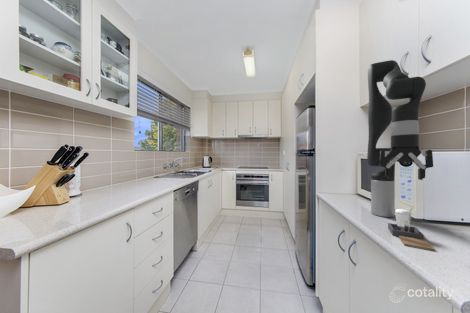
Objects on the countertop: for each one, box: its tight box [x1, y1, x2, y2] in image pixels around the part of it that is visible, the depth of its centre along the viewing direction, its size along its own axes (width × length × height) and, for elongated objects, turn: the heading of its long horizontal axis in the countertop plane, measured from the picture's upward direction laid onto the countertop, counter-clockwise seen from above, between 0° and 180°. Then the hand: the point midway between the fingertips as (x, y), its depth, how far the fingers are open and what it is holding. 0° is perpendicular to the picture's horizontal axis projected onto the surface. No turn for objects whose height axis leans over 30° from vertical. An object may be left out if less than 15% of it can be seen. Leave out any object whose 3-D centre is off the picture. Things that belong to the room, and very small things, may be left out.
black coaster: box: [387, 222, 425, 240], centre depth 68 cm, size 8×8×2 cm
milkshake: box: [395, 207, 414, 232], centre depth 68 cm, size 4×5×10 cm
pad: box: [398, 236, 436, 252], centre depth 61 cm, size 7×7×1 cm
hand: (404, 178), depth 67 cm, fingers open, 8 cm apart
